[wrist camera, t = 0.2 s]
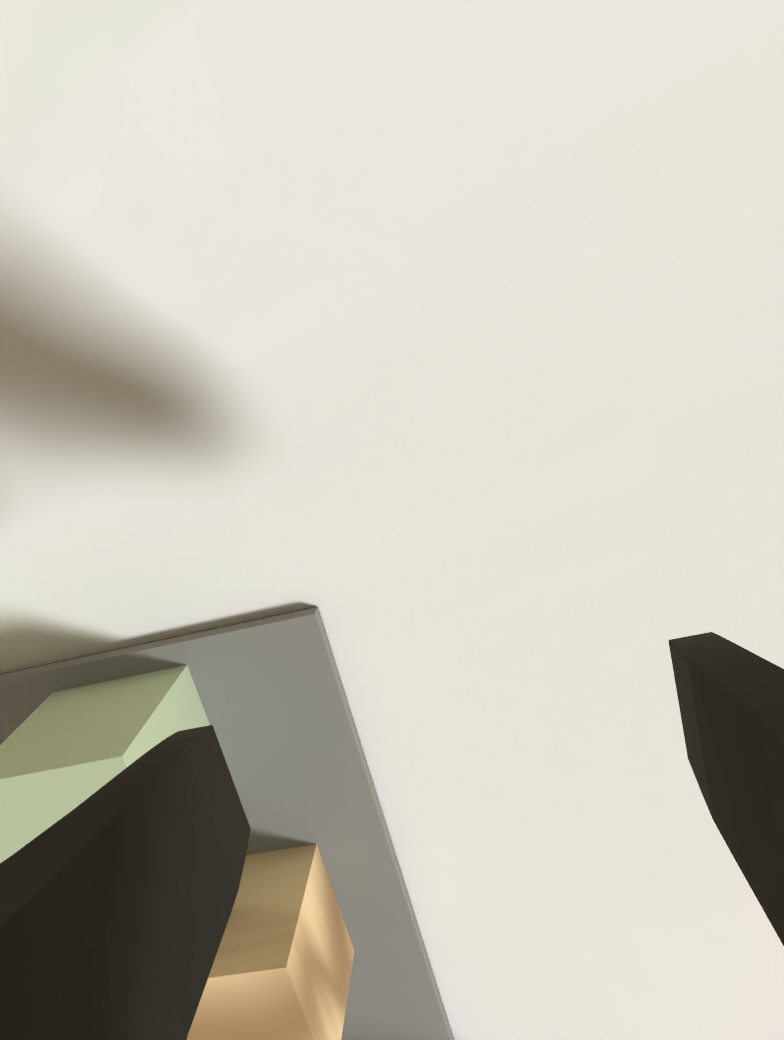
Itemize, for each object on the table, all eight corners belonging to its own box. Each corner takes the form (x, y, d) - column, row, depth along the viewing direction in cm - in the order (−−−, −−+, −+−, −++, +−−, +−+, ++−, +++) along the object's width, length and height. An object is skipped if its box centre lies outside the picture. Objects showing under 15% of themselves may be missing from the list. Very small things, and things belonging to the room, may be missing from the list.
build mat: (483, 1131, 27) (483, 1149, 27) (165, 1161, 29) (159, 1178, 29) (317, 606, 21) (313, 615, 21) (-67, 688, 23) (-80, 698, 23)
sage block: (234, 789, 23) (184, 903, 19) (105, 812, 24) (28, 926, 20) (187, 664, 22) (121, 756, 18) (52, 692, 23) (-42, 786, 18)
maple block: (354, 951, 25) (333, 1090, 20) (230, 968, 25) (185, 1106, 21) (316, 843, 23) (286, 967, 19) (187, 864, 24) (130, 988, 20)
